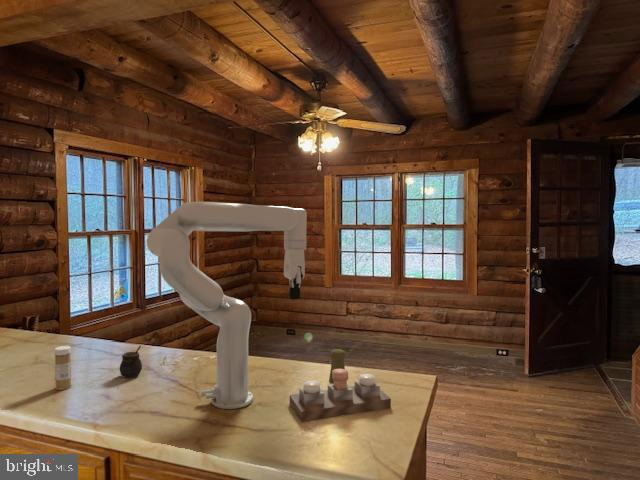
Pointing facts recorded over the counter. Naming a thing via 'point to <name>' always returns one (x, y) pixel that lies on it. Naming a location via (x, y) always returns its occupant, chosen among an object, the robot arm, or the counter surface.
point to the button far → (367, 379)
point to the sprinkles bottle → (62, 367)
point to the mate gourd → (130, 364)
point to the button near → (311, 387)
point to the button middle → (340, 378)
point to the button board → (338, 402)
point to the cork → (337, 361)
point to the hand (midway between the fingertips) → (294, 298)
